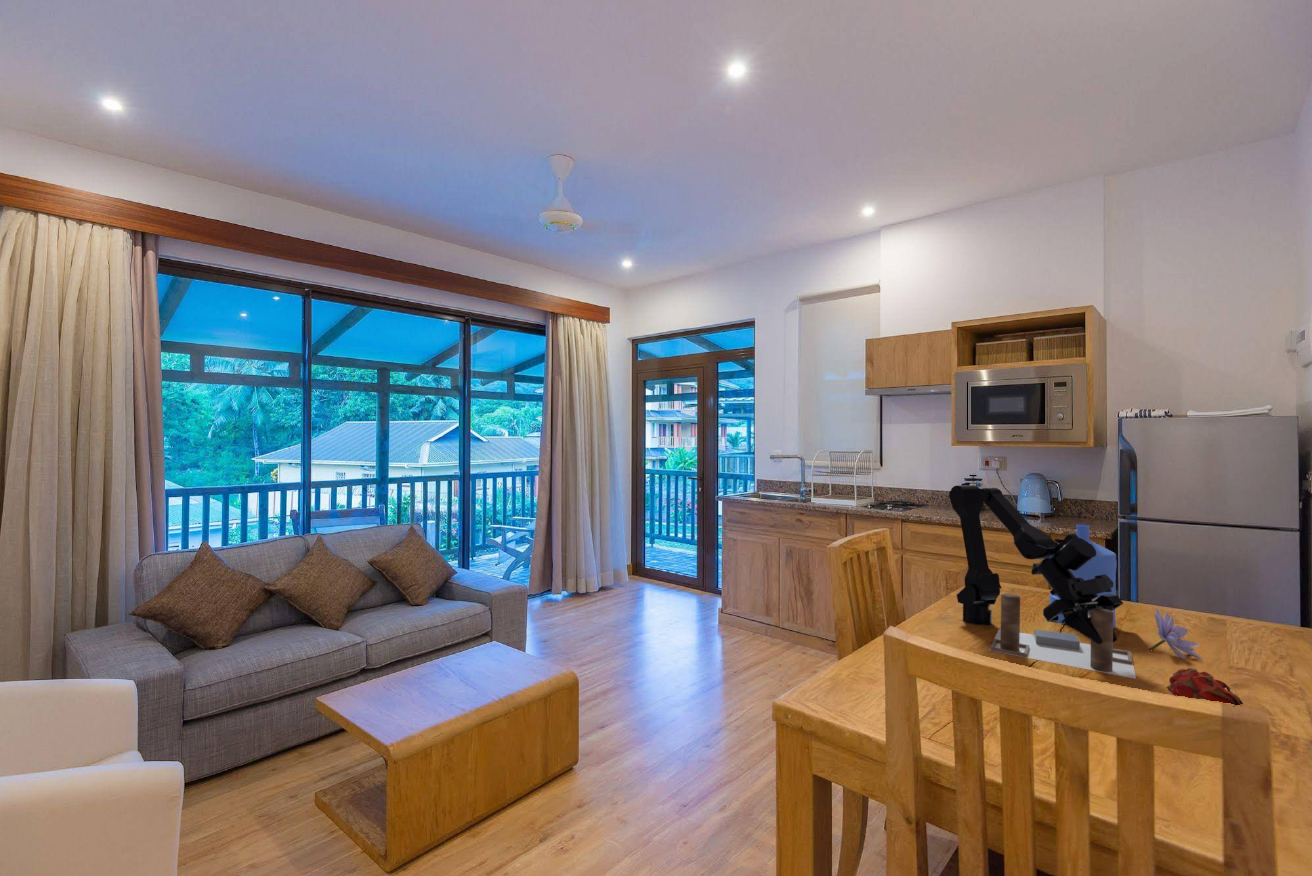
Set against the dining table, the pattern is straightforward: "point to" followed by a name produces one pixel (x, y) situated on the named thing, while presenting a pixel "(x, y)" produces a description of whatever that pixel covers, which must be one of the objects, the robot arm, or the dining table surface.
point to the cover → (1056, 639)
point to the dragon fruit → (1201, 687)
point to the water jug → (1094, 567)
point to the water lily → (1173, 636)
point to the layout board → (1066, 655)
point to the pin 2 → (1103, 651)
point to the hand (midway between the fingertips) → (1108, 642)
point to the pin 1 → (1010, 622)
